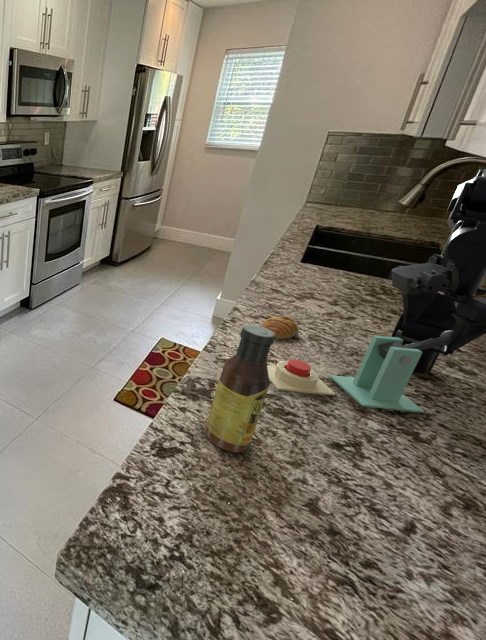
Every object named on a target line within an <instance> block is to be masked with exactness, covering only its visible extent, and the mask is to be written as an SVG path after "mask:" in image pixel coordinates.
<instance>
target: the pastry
mask: <svg viewBox="0 0 486 640" xmlns="http://www.w3.org/2000/svg"><path fill="white" fill-rule="evenodd" d="M261 326H262V327H265V328H267V329H269V330H271V331H272V332H274V333H275V338H274V340H284V339H289V338H290V339H292V338H293V337H295V335H296V334H298V333H299V329H298V326H297V324H296V322H295V320H294V319H293V318H291V317H289V316H286V315H279V314H276V315H274V316H272V317H269V318H267V319H265V320H264V321H263V322H262V323H261Z"/></svg>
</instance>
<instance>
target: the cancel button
mask: <svg viewBox="0 0 486 640" xmlns="http://www.w3.org/2000/svg"><path fill="white" fill-rule="evenodd" d="M287 361H288V363H287V366H286V370H287V371H288V372H290V373H292V374H294V375H297V376H300V377H308V375H309V372H310V370H311V369H312V367H311V365H309V364H308V363H306V362H305V361H302V360H300V359H293V358H291V359H289V360H287Z"/></svg>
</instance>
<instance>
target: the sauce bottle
mask: <svg viewBox="0 0 486 640" xmlns="http://www.w3.org/2000/svg"><path fill="white" fill-rule="evenodd" d="M274 342H275V333H274V332H272V331H271V330H269V329H267V328H265V327H262V325H258V324H250V323H249V324H244V325H243V326H242V328H241V332H240V340H239V344H238V347H237V348H236V353H235V354H234V355H232V356H231V357H230V358H228V359H227V360H226V361H225V362H224V364H223V366H222V370H221V374H220V376H219V379H218V381H217V384H216V385H217V386H216V389H215V391H214V396H213V399H212V403H211V406H210V409H209V413H208V416H207V417H208V418H207V420H206V426H205V427H206V428H205V436H206V437H207V438H208V440H209V441H210V443H212V444H213V445H214V446H216V447H217V448H219V449H222V450H224V451H227V452H229V453H237V454H239V453H243V452H244V451H246V450H247V448H248V447H249V445H250V443H252V440H253V437H254V434H255V430H256V427H257V424H258V421H259V419H260V416H261V412H262V410H263V407H264V402H265V401H266V398H267V397H266V396H267V394H268V392H269V388H270V383H271V382H270V380H269V376H268V369H267V365H268V361H267V360H268V356H269V353H270V350H271V346H272V345H273V344H274Z"/></svg>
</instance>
